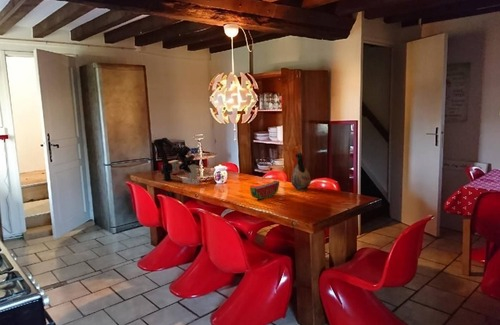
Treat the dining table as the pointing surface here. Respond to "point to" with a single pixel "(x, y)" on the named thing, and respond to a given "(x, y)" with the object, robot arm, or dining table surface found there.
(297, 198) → the dining table surface
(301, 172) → the ceramic jug
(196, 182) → the white rectangular bar
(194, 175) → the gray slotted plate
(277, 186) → the fruit slice
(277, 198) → the dining table surface
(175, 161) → the stack of blocks
